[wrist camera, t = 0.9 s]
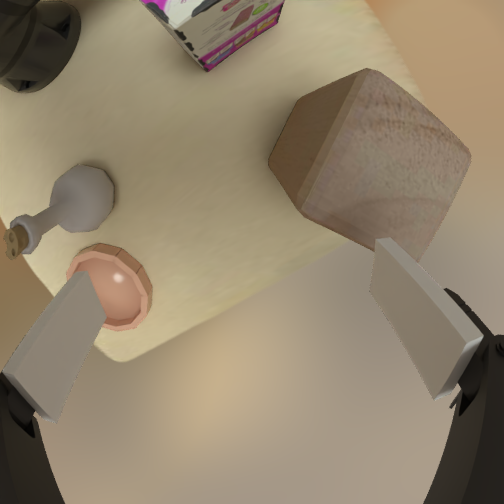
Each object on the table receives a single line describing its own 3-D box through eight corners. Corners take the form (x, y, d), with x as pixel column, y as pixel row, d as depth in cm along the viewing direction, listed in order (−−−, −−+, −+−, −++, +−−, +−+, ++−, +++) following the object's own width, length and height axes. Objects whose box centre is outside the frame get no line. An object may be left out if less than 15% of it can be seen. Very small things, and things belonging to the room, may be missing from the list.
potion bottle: (81, 228, 35) (5, 294, 19) (63, 171, 31) (-28, 212, 15) (129, 214, 35) (57, 284, 18) (112, 151, 31) (18, 182, 15)
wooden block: (333, 199, 35) (415, 277, 17) (264, 165, 33) (292, 215, 15) (367, 133, 31) (480, 154, 13) (299, 94, 29) (371, 58, 11)
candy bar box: (251, -1, 23) (258, -76, 8) (278, 23, 25) (305, -44, 10) (180, 49, 26) (133, -3, 11) (206, 74, 28) (175, 31, 13)
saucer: (64, 284, 39) (57, 292, 37) (96, 226, 35) (88, 232, 33) (126, 333, 44) (121, 343, 41) (169, 286, 40) (165, 295, 37)
